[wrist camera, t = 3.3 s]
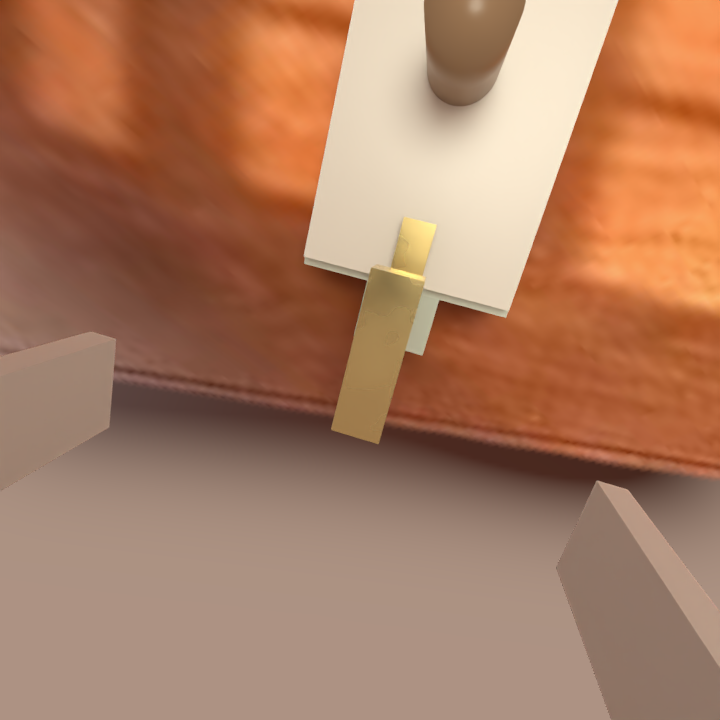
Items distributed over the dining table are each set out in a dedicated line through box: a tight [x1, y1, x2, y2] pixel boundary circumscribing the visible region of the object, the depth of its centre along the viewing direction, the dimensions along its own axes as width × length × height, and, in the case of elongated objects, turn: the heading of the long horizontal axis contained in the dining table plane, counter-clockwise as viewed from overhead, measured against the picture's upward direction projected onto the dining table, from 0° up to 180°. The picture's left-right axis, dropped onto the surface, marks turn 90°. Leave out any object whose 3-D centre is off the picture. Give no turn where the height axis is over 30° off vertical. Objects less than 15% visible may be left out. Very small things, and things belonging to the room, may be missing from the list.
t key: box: [331, 217, 437, 444], centre depth 25 cm, size 2×10×10 cm, turn 166°
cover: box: [304, 0, 618, 311], centre depth 23 cm, size 14×17×9 cm
